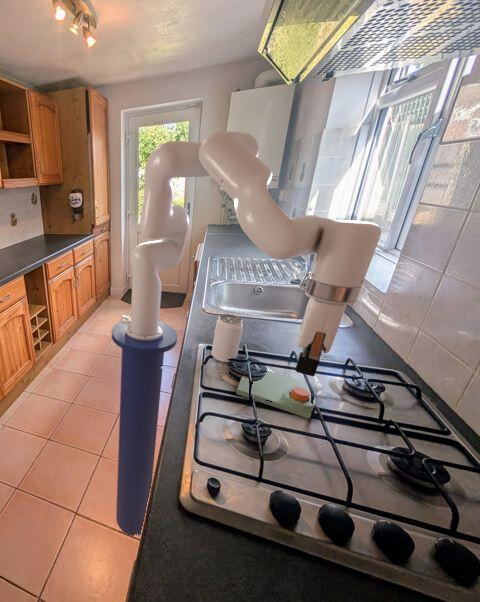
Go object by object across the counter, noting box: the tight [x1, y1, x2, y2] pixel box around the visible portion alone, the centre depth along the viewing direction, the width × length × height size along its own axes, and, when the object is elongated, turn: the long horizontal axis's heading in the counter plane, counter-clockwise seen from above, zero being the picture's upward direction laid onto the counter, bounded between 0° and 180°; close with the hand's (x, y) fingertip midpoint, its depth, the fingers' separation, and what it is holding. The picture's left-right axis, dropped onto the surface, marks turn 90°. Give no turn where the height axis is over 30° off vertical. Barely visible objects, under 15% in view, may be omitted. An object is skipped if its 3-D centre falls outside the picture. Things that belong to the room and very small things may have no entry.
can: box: [211, 313, 244, 364], centre depth 82 cm, size 6×6×12 cm
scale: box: [235, 370, 317, 420], centre depth 70 cm, size 14×12×3 cm
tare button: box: [291, 387, 309, 402], centre depth 64 cm, size 3×3×2 cm
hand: (304, 372), depth 63 cm, fingers closed
